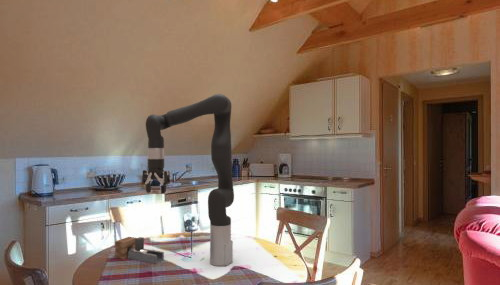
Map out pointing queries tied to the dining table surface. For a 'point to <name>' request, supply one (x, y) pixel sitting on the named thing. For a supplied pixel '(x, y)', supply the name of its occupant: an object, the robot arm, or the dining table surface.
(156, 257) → the metal channel
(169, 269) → the dining table surface
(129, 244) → the walnut socket block
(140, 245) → the grey slider with post
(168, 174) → the robot arm
